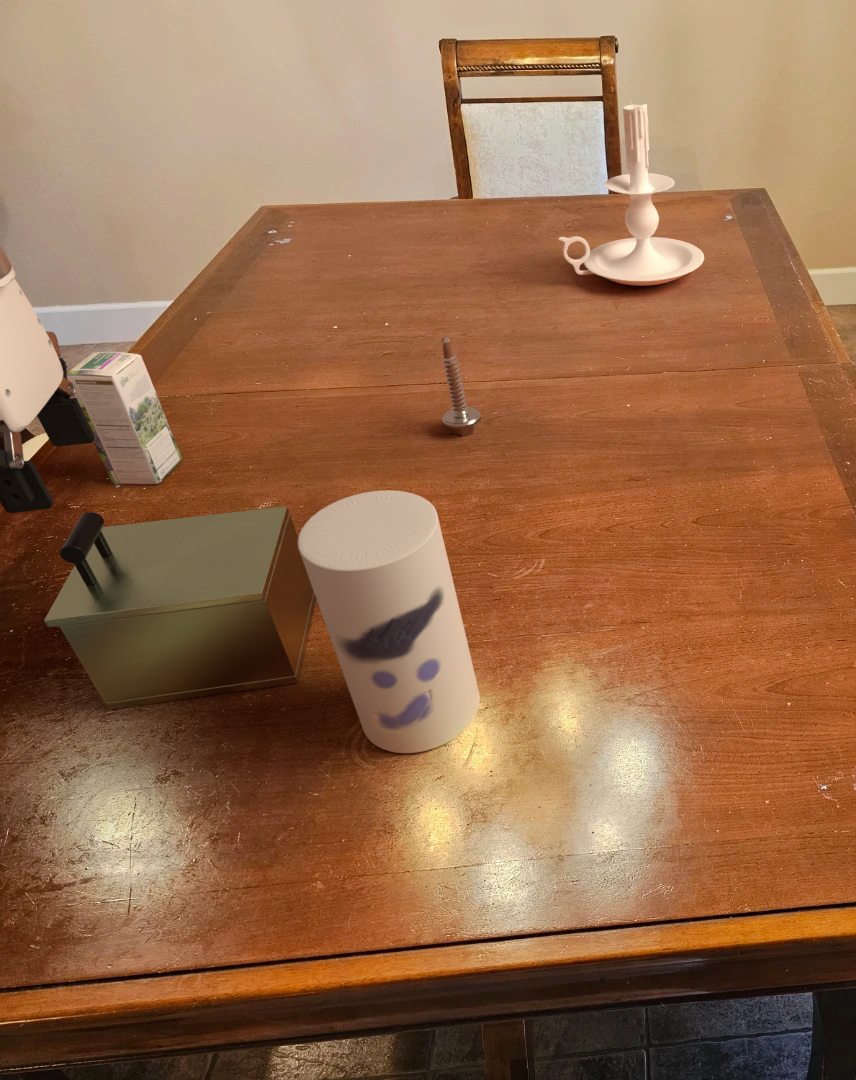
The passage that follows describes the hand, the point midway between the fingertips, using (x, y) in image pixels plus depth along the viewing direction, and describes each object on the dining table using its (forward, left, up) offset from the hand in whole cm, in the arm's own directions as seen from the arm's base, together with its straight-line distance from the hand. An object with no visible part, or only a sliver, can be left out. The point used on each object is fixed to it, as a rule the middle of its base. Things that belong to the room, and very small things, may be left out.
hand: (54, 474), depth 74 cm
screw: (+28, +36, -20) cm, 50 cm away
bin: (+6, 0, -20) cm, 21 cm away
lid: (+6, 0, -10) cm, 12 cm away
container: (+25, -12, -20) cm, 35 cm away
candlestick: (+56, +83, -20) cm, 102 cm away
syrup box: (-9, +34, -20) cm, 41 cm away
